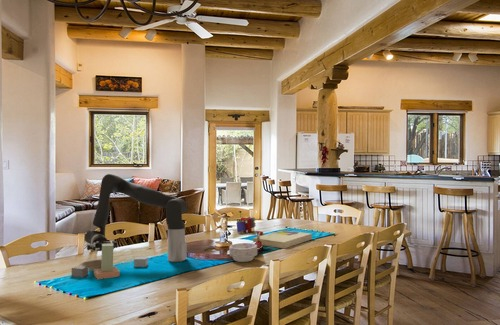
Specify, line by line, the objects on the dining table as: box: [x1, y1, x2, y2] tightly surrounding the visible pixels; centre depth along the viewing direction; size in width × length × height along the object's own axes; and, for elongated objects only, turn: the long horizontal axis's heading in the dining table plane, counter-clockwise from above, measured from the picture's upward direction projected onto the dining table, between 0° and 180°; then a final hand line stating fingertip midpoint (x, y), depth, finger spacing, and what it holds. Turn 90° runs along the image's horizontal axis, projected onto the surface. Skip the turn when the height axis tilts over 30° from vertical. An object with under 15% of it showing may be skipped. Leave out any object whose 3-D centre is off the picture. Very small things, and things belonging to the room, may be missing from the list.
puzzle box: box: [252, 230, 313, 249], centre depth 273 cm, size 36×5×24 cm
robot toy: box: [236, 210, 257, 234], centre depth 309 cm, size 17×9×20 cm
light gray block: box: [133, 256, 149, 268], centre depth 212 cm, size 6×4×4 cm, turn 90°
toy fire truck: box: [255, 231, 264, 248], centre depth 252 cm, size 3×14×10 cm, turn 168°
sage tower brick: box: [100, 243, 114, 272], centre depth 194 cm, size 5×5×12 cm
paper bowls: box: [228, 242, 258, 263], centre depth 223 cm, size 15×15×8 cm
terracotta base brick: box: [93, 266, 121, 280], centre depth 195 cm, size 10×10×3 cm
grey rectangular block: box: [71, 265, 89, 278], centre depth 194 cm, size 6×4×4 cm, turn 73°
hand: (104, 248), depth 201 cm, fingers open, 8 cm apart
